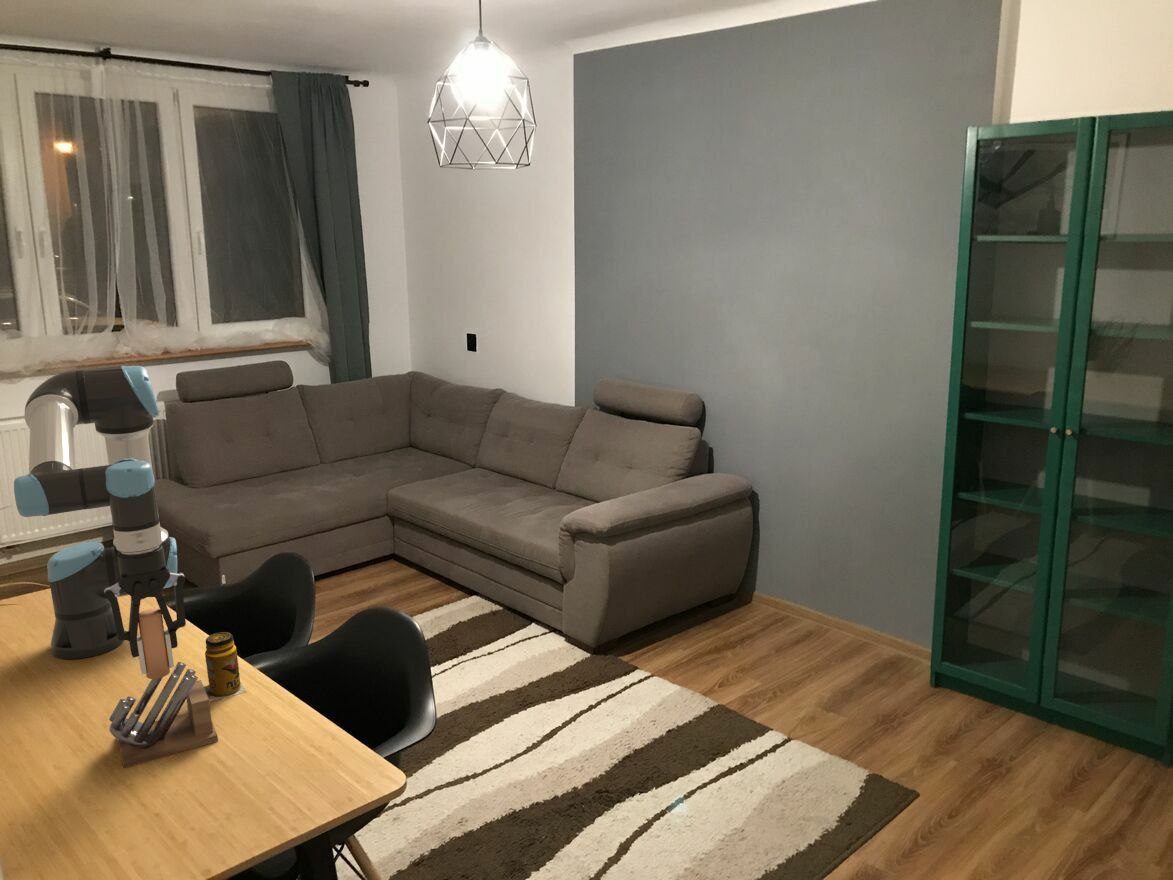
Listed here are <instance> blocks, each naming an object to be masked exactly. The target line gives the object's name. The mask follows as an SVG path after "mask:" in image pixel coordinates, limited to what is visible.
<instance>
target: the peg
mask: <svg viewBox="0 0 1173 880" xmlns="http://www.w3.org/2000/svg"><path fill="white" fill-rule="evenodd" d="M138 629H139V635H140V637H141V640H142V646H143V652H144V659H145V666H146V673H147V674H145V677H146V678H147V679H149V680H152V679H158V678H162V677H163V678H164V677H166V676H168V675H169V674H170V673H171V669H170V667H169V662H168V655H167V648H166V641H165V633H164V630H165V627H164V618H163V615H162V613H161V610H160V608H151V609H146V610H143V611H141V612H140V611H139V620H138ZM163 678H162V679H163Z"/></svg>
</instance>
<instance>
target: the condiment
mask: <svg viewBox="0 0 1173 880" xmlns="http://www.w3.org/2000/svg"><path fill="white" fill-rule="evenodd" d="M205 648H206V650H205V653H204V657H205V663H206V672H207V677H208V678H207V680H208V685H203V686H204V689H205V691H206V694H207V696H208V699H209V703H210V702H213V701H218V700H220V699H221V700H222V699H225V698H228V697H234V696H236V695H239V694H244V693H246V692H247V690H246V689H245V687H244V686H243V684H242V682H241V677H240V668H239V661H238V650H237V646H236V645H235V641H234V636H233V634H232V633H230V632H226V631H222V632H221V631H220V632H215V633H212V634H210V635H208V636H207V637H206V639H205Z"/></svg>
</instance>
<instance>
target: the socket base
mask: <svg viewBox="0 0 1173 880" xmlns="http://www.w3.org/2000/svg"><path fill="white" fill-rule="evenodd" d="M204 686H205V685H204V684H203V682H202V680H201V679H199V680H197V681H196V683H195V684H194V686H193V688H192V690H191V691H190V693H189V695H188V697H187V698H186V700H185V701H186V708H187V712H184V713H181V714H177V716H176V718H175V720H174V721H173V723H172V725H171V727H170V728H169V730H168V732H167V734H166V735H165V737H164V739H163V740H161V741H157V743H156V744H155V745H152V746H150V747H149V748H147V749H145V748H137V747H134V746H131V745H128V744H126V743H123V742H122V741H120V740H118V739H117V740H118V746H119V752H120V756H121V762H122V766H123V769H124V768H128V767H131V766H135V765H138V764H139V765H140V764H141V763H146V762H150V761H153V760H157V759H160V758H163V757H166V756H170V755H174V754H177V753H180V752H184V751H188V750H191V749H194V748H198V747H203V746H205V745H206V746H207V745H208V744H213V743H216V742H219V738H218V734H217V733H218V732H217V730H216V729H215V725H214V723H213V720H212V714H211V706H210V705H211V704H210V702H209V699H208V696H207V694H206V691H205V689H204ZM157 722H158V720H155V722H154V724H153V725H152V727H151V728H152V729H154V727H155V726H156V724H157Z"/></svg>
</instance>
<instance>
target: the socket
mask: <svg viewBox="0 0 1173 880" xmlns="http://www.w3.org/2000/svg"><path fill="white" fill-rule="evenodd" d="M186 667H187V664H186V663H184V662H183V661H177V664H176V665H175V666H174V668H173V670H172V672H171V674H170V676H169V678H168V679H167V681H166V683H165V684H164V686H163V688H162V690H161V691H160V694H159V695H158V697H157V699H156V700H155V702H154V703H153V705H152V708H151V709H150V710H149V712H148V714H147V716H146V717H145V719H144V721H143V722H141V721H139V720H140V718H141V716H142V714H143V712H144V711H145V709H146V708H147V706H148V704H149V703H150V700H151V698H152V697H153V695H154V694H155V692H156V690H157V689H158V686H159V685H160V683H161V681H162V679H163V678H164V677H162V678H158V679H150V681H149V684H148V685H147V686H146V688H145V690H144V692H143V694H142V696H141V697H140V699H139V701H138V703H137V704H136V706H135V707H134V709H133V711H132V712H131V713H130V711H131V709H132V708H133V706H134V705H135V703H136V701H137V699H136V698H134V697H133V696H126V698H125V699H124V698H120V699H119V701H118V702H117V705H116V706H115V708H114V709H113V711H112V713H111V715H110V716H109V719H108V720H109V722H111V723H110V725H109V732H110V734H112V736H113V737H114V738H115V739H117V740H120V741H122V742H123V743H126V744H128V745H131V746H134V747H137V748H145V749H147V748H149V747H150V746H152V745H155V744H156V743H157V741H161V740H163V739H164V737H165V735H166V734H167V732H168V730H169V728H170V727H171V725H172V723H173V721H174V720H175V718H176V716H177V715H179V712H180V710H181V709H182V707H183V705H184V703H185V702H186V701H187V700H186V698H187V697H188V695H189V693H190V691H191V690H192V688H193V686H194V684H195V683H196V681H198V679H199V677H198V676H197V675H195V674H196V673H197V672H196V671H195V670H194V669H192V668H187V669H186V671H185V668H186ZM184 671H185V673H184V675H183V677H182V678H181V680H180V677H181V676H182V674H183V672H184ZM179 680H180V681H179ZM178 682H179V684H178ZM177 684H178V686H177V687H176V685H177ZM175 687H176V689H175V691H174V692H173V690H174V688H175ZM172 692H173V694H172ZM170 695H172V696H171V698H170V699H169V697H170ZM168 699H169V701H168ZM167 701H168V702H167ZM166 703H167V705H166ZM165 705H166V706H165ZM164 706H165V708H164V710H163V712H162V713H161V711H162V709H163V707H164ZM129 713H130V715H129ZM160 713H161V715H160ZM128 715H129V717H128ZM159 715H160V717H159ZM158 717H159V719H158V720H157V718H158ZM155 721H158V722H157V724H156V726H155V727H154V729H152V728H151V727H152V725H153V724H154V722H155Z"/></svg>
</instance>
